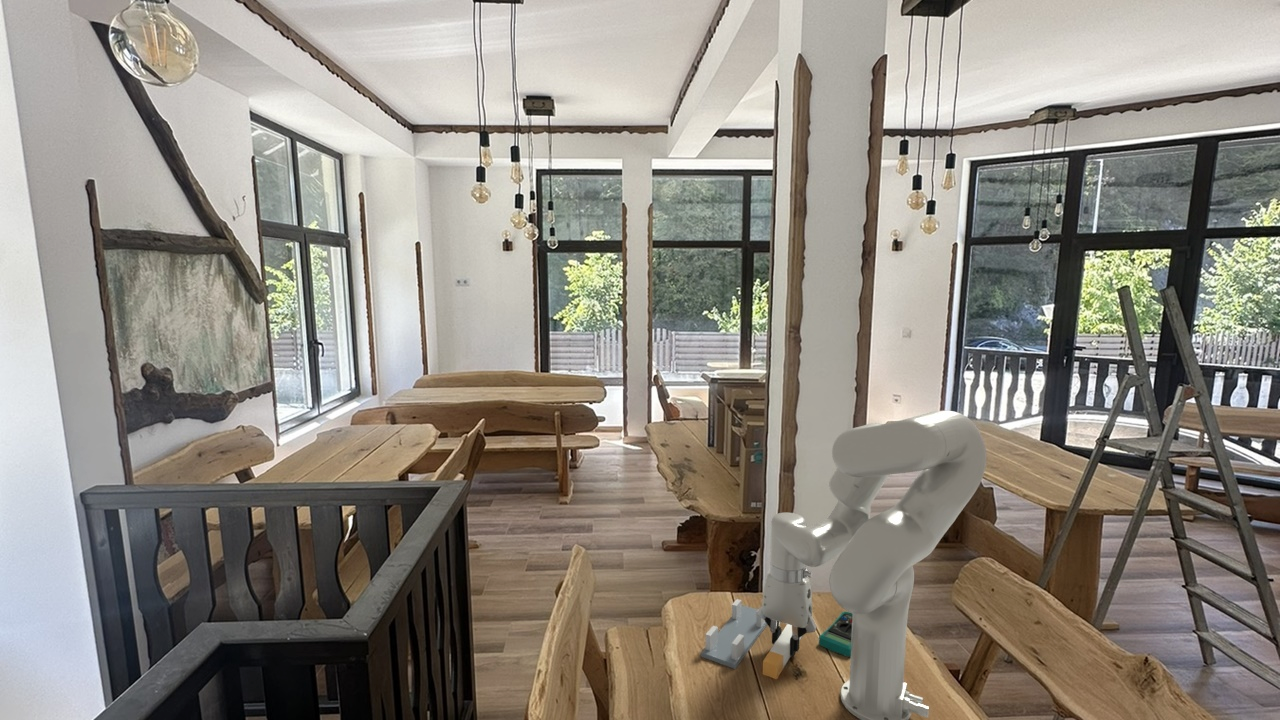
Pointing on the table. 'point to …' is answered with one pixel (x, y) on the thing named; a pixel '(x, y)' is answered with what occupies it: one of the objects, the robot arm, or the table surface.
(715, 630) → the grey peg holder base
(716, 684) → the table surface
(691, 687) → the table surface
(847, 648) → the digital multimeter
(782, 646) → the bar
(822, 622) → the table surface
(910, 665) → the table surface
